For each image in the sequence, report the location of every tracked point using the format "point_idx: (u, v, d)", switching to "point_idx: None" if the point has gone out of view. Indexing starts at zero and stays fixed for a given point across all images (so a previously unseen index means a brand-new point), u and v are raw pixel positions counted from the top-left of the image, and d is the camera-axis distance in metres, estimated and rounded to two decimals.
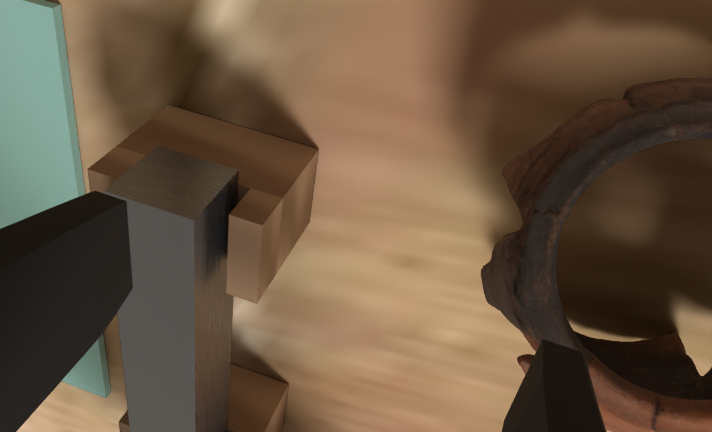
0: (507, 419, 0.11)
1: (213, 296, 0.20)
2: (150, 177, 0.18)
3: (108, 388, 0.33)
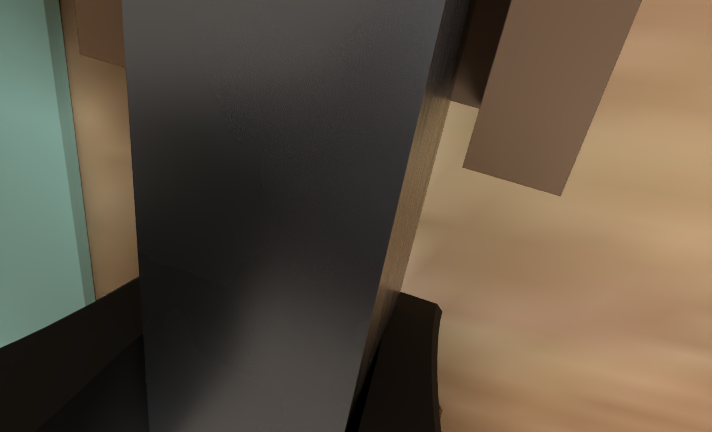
0: None
1: (417, 182, 0.07)
2: None
3: None
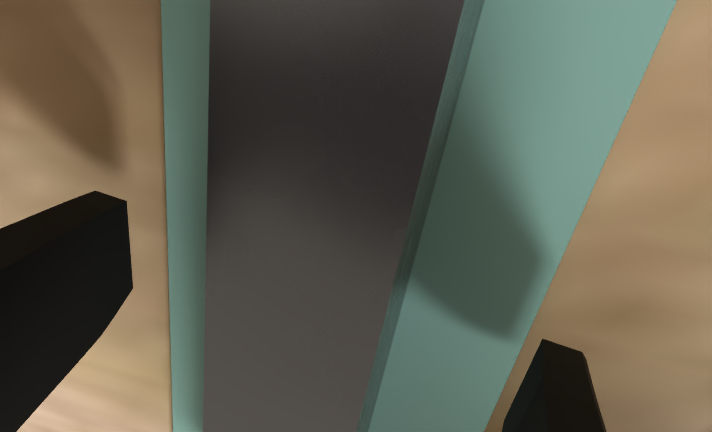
0: (507, 419, 0.11)
1: (445, 113, 0.08)
2: None
3: None
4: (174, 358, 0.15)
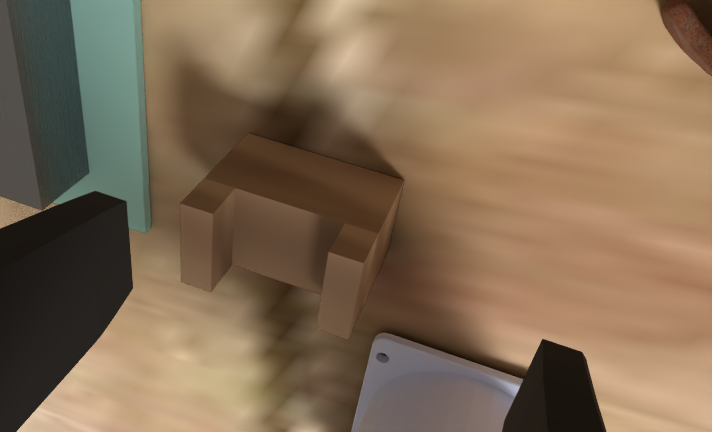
0: (507, 419, 0.11)
1: None
2: None
3: (148, 219, 0.25)
4: None
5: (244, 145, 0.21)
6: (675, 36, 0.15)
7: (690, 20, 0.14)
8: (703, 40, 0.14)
